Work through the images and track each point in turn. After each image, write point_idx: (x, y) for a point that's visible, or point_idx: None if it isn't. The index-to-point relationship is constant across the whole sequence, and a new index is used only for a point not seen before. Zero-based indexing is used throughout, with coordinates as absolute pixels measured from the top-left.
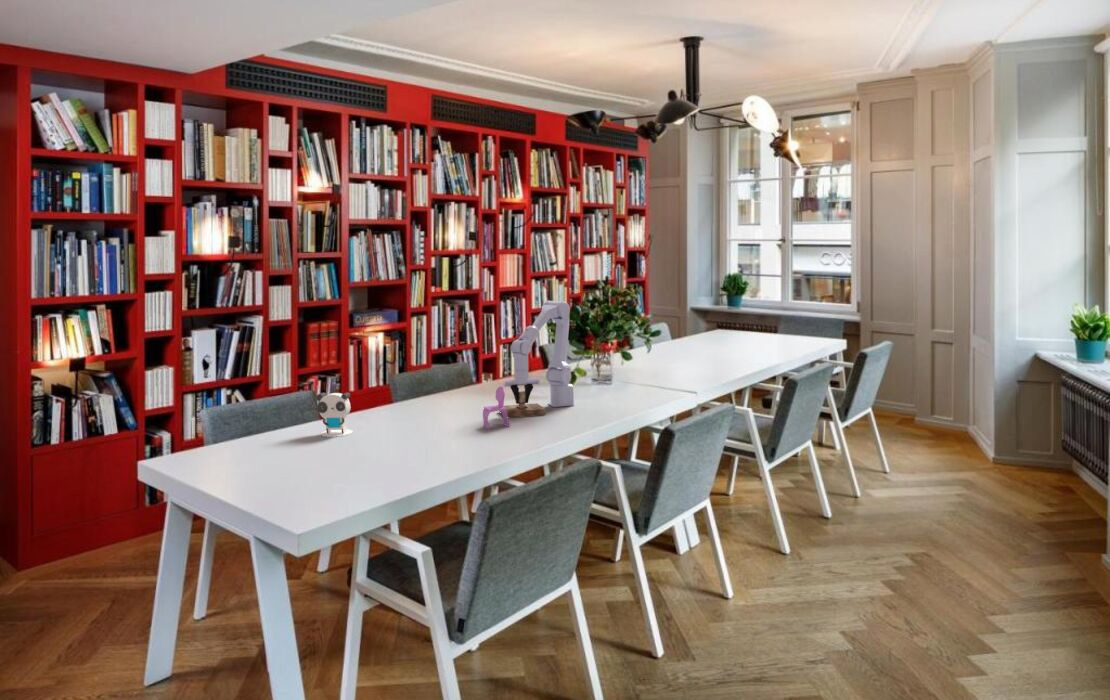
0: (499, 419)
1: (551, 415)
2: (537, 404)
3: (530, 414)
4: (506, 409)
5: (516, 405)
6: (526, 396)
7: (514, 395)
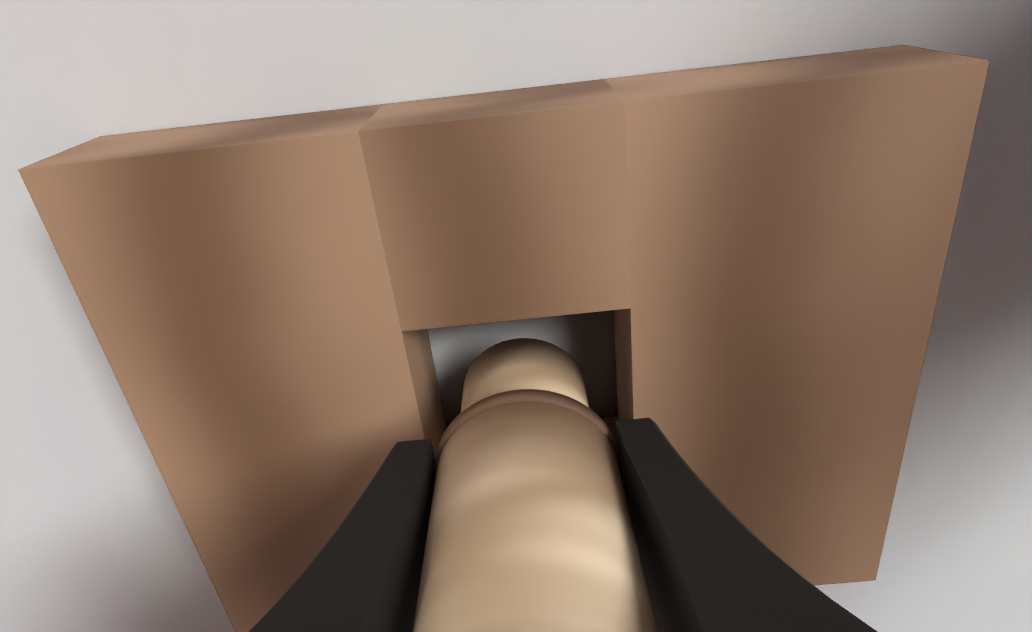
0: (180, 596)
1: (894, 539)
2: (925, 211)
3: None
4: (227, 501)
5: (434, 203)
6: (656, 617)
7: (323, 580)
